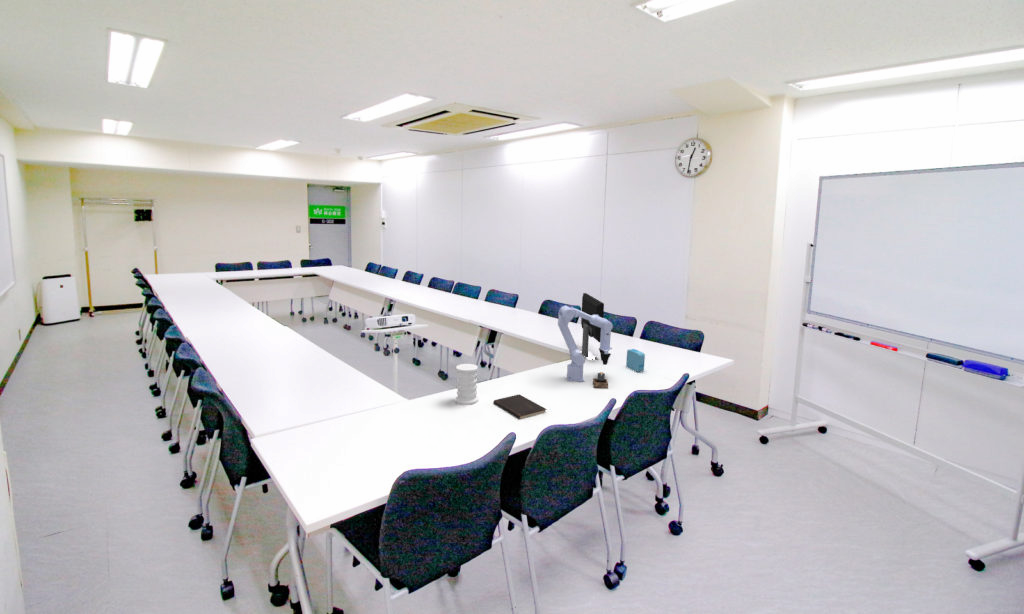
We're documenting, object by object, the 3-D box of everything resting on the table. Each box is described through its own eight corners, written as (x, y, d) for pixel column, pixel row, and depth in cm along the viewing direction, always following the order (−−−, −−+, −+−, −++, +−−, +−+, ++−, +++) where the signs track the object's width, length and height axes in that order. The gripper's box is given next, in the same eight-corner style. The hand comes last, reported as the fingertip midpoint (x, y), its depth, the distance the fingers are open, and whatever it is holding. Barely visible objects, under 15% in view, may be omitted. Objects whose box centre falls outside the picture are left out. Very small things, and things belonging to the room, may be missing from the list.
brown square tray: (594, 387, 273) (594, 382, 272) (592, 383, 280) (592, 378, 279) (607, 388, 272) (608, 383, 272) (606, 383, 280) (606, 378, 279)
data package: (643, 372, 302) (645, 353, 300) (637, 372, 300) (639, 354, 298) (631, 366, 313) (632, 348, 310) (625, 367, 311) (627, 349, 309)
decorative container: (478, 396, 257) (479, 363, 253) (477, 405, 245) (477, 370, 242) (456, 396, 257) (456, 363, 253) (454, 404, 245) (454, 370, 242)
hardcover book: (519, 398, 257) (519, 394, 256) (546, 413, 238) (546, 409, 238) (493, 404, 248) (493, 400, 247) (519, 420, 229) (519, 416, 229)
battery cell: (597, 385, 274) (598, 373, 273) (596, 383, 278) (597, 371, 277) (604, 386, 274) (605, 374, 273) (603, 383, 278) (604, 371, 277)
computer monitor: (604, 364, 315) (607, 303, 308) (591, 364, 314) (594, 303, 307) (586, 347, 355) (588, 293, 348) (574, 347, 354) (577, 293, 347)
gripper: (614, 343, 278) (612, 366, 281) (610, 337, 292) (609, 359, 295) (601, 343, 278) (600, 366, 281) (598, 336, 293) (597, 358, 295)
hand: (604, 362), depth 288 cm, fingers open, 7 cm apart
